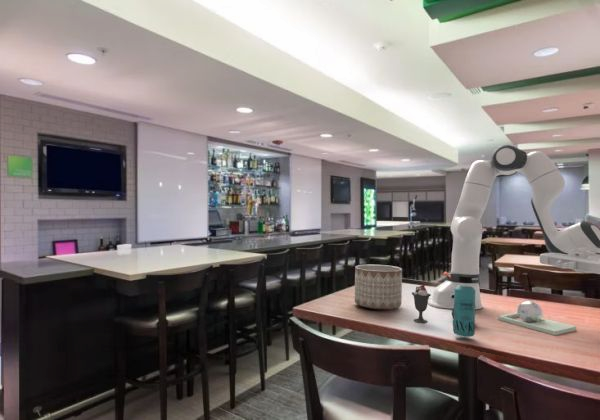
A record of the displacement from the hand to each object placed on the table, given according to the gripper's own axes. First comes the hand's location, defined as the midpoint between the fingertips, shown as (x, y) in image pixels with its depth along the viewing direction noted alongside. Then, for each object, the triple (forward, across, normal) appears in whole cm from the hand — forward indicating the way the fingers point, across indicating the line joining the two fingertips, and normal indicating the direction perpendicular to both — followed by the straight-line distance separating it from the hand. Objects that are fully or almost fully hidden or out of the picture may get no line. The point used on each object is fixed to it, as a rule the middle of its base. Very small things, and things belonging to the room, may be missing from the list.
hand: (560, 265), depth 128 cm
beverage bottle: (+40, -7, +20) cm, 45 cm away
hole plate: (+2, -8, +23) cm, 24 cm away
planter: (+39, -50, +22) cm, 67 cm away
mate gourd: (+25, -19, +22) cm, 38 cm away
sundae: (+38, -27, +21) cm, 51 cm away
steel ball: (+2, -9, +19) cm, 21 cm away
